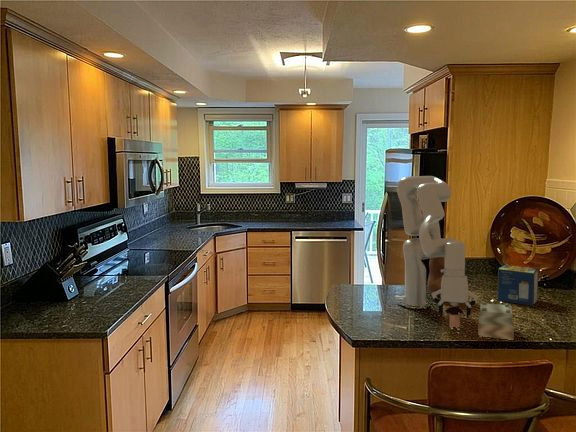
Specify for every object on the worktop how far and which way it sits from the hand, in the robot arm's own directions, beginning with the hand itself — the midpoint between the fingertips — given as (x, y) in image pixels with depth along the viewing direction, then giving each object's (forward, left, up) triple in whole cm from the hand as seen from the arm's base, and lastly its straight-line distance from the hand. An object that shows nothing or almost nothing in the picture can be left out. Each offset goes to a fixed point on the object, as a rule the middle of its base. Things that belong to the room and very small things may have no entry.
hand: (454, 315), depth 179 cm
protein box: (+26, +50, -6) cm, 57 cm away
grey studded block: (+15, 0, -6) cm, 16 cm away
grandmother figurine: (0, 0, -6) cm, 6 cm away
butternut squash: (-8, +43, -6) cm, 45 cm away
